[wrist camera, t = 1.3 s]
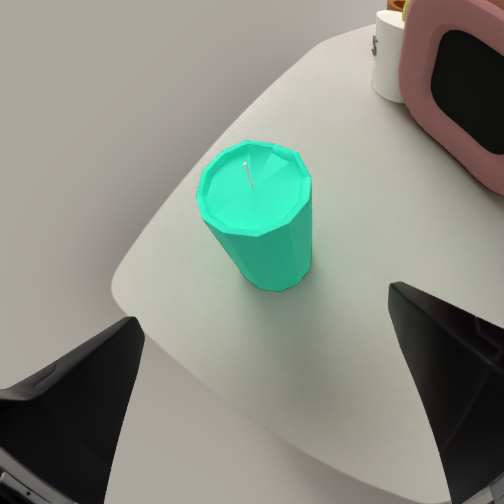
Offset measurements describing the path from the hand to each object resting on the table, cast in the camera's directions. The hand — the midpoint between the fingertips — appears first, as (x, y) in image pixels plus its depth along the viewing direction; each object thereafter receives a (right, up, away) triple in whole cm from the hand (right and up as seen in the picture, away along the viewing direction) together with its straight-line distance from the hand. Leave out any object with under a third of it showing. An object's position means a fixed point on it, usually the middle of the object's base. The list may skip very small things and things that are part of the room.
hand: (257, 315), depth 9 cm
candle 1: (+2, +2, +14) cm, 15 cm away
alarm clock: (+25, +15, +15) cm, 33 cm away
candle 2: (+18, +23, +19) cm, 35 cm away
